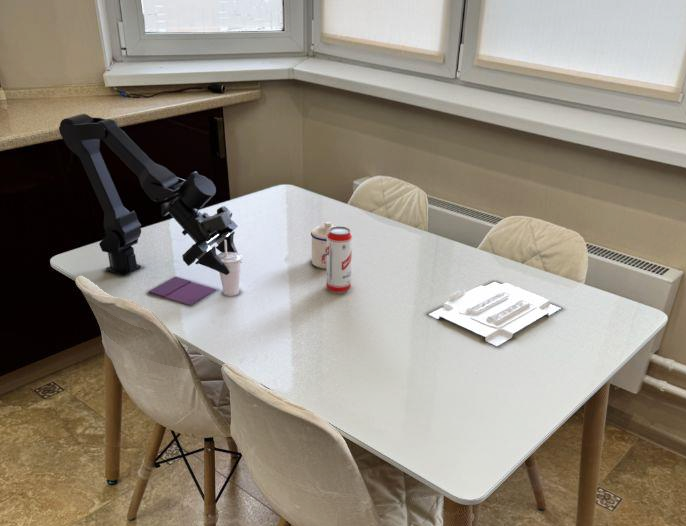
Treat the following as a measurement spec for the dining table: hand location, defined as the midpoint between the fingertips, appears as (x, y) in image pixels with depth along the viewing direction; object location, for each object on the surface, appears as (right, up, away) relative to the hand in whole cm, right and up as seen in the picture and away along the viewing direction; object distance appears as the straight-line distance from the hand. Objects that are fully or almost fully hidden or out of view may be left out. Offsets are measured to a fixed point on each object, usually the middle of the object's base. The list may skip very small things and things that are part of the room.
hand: (234, 268), depth 170 cm
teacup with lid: (+23, +5, +22) cm, 32 cm away
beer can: (+25, -4, +8) cm, 27 cm away
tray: (+65, -11, +1) cm, 65 cm away
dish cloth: (-14, -5, +3) cm, 15 cm away
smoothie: (-2, -6, +4) cm, 7 cm away
